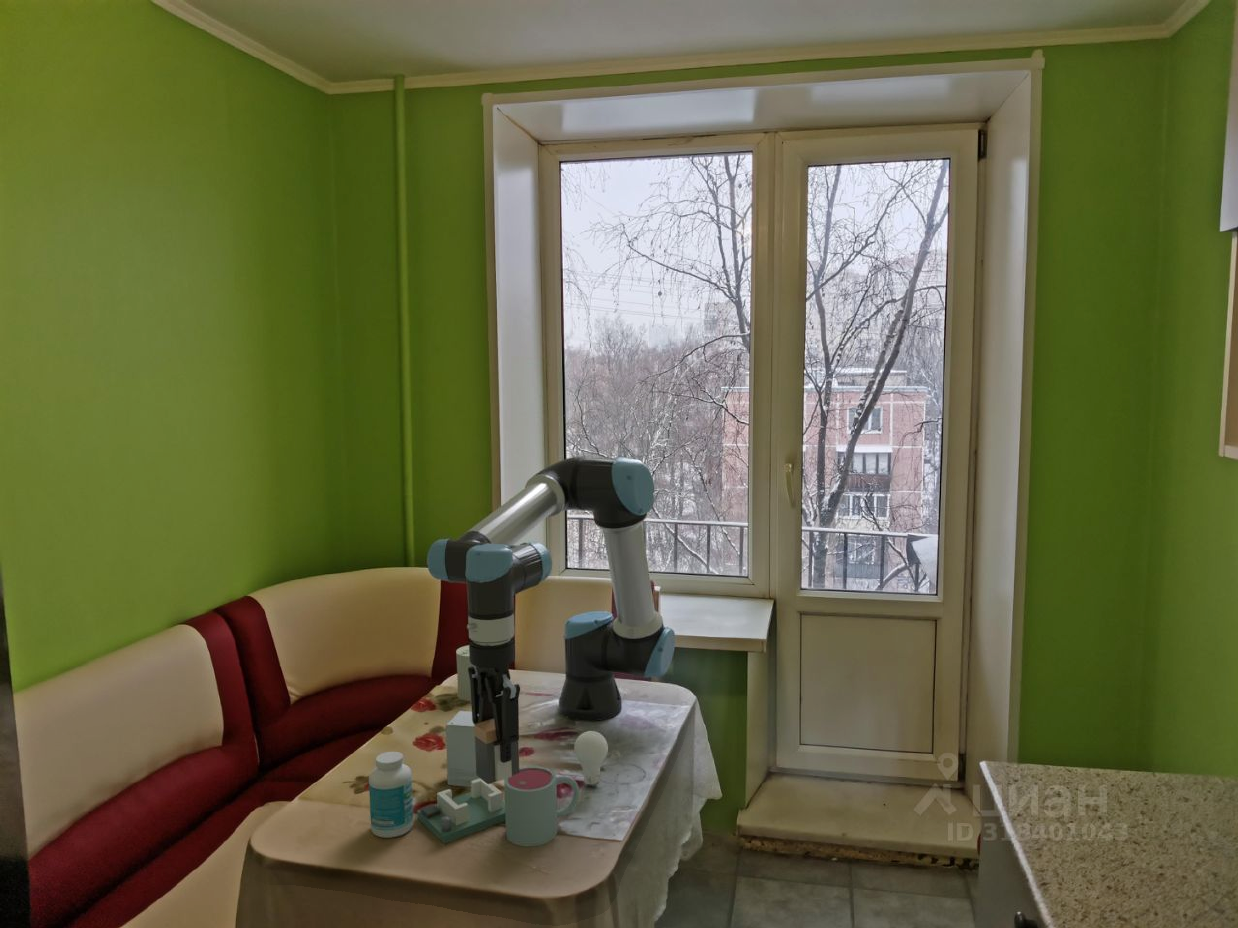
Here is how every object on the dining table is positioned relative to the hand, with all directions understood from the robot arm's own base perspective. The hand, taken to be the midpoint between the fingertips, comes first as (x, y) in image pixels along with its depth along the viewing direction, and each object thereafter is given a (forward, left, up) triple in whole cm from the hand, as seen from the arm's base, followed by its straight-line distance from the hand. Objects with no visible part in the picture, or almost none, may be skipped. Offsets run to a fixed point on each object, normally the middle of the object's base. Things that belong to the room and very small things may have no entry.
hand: (496, 772), depth 144 cm
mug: (-10, -2, -15) cm, 18 cm away
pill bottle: (+11, -19, -15) cm, 26 cm away
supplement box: (-9, -27, -15) cm, 32 cm away
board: (-1, -14, -14) cm, 20 cm away
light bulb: (-26, -9, -15) cm, 31 cm away
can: (-31, -66, -15) cm, 74 cm away
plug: (0, 0, 0) cm, 0 cm away
